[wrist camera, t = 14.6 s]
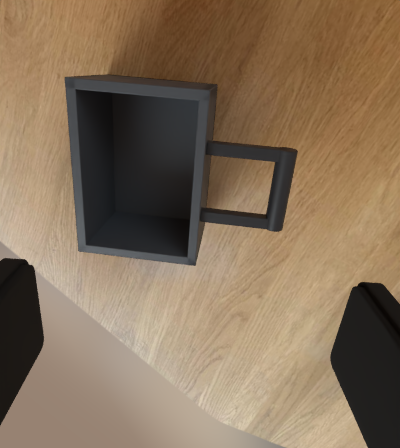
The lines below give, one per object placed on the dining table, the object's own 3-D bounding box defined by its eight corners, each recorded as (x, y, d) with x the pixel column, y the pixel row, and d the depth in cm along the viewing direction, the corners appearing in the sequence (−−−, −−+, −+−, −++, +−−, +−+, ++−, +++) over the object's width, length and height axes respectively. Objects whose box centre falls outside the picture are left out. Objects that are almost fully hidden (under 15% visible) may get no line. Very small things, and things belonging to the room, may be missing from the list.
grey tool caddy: (111, 214, 40) (78, 251, 32) (106, 74, 34) (64, 76, 26) (268, 232, 39) (276, 276, 31) (294, 91, 33) (311, 99, 25)
